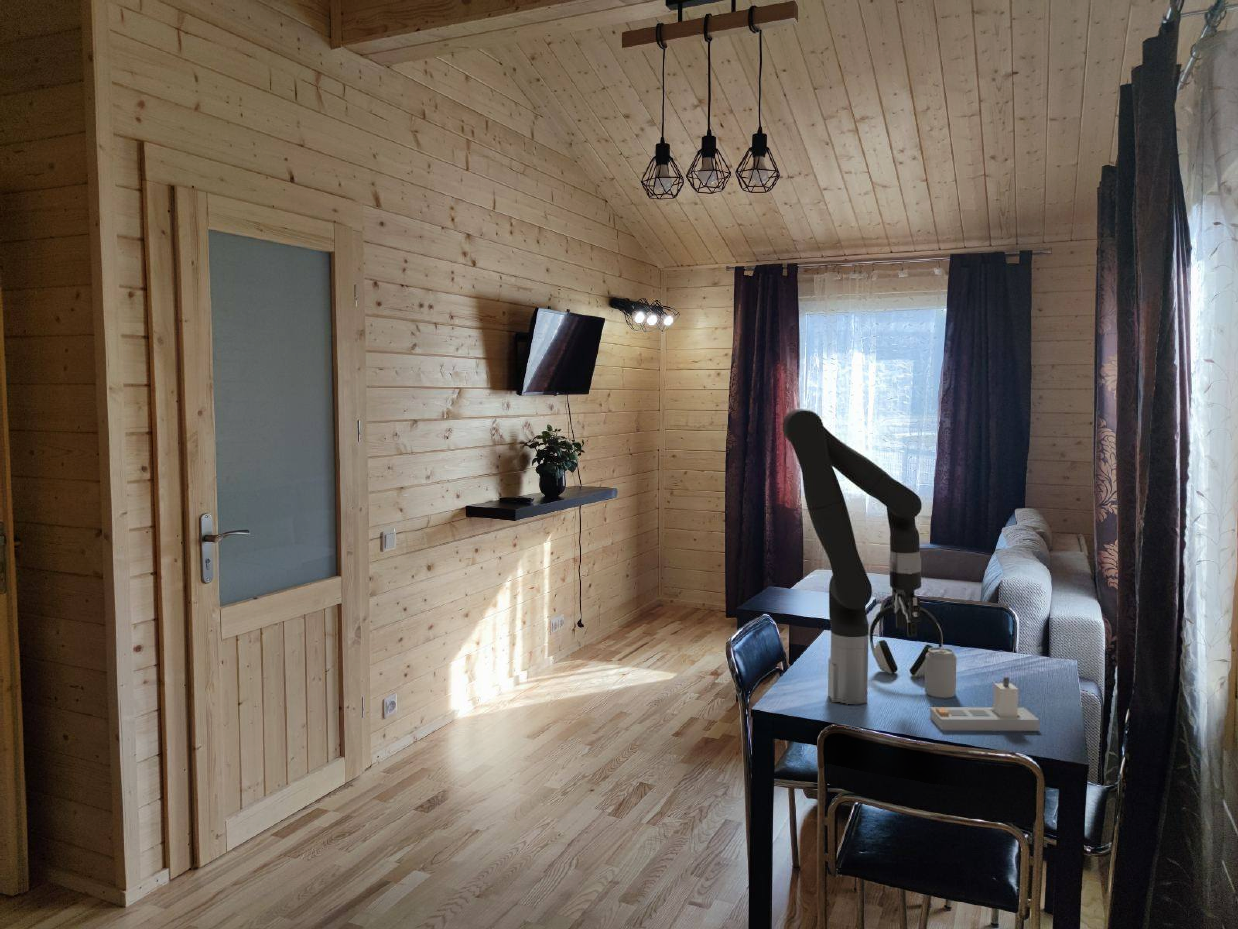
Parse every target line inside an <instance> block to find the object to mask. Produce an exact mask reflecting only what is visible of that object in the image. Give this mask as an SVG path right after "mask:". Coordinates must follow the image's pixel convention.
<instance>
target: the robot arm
mask: <svg viewBox="0 0 1238 929" xmlns="http://www.w3.org/2000/svg"><path fill="white" fill-rule="evenodd" d="M823 423H824V422H823V420H822V419H821V417H820V415H818V413H816V412H815V411H813V410H811V409H807V408H797V409H794V410H792V411H790V412H789V413H787V415H786V416H785V417H784V419H783V422H782V432H783V435H784V437H785V438H786V440H787V441H788V442H789V443H790V444H791V446H792V448H793V451H794V453H795V455H796V458H797V460H798V464H799V467H800V471H801V476H802V484H803V494H804V498H805V499H804V500H805V505H806V509H807V511H808V514H809V518H810V520H811V524H812V526H813V529H814V531H815V533H816V535H817V538H818V539H819V542H820V544H821V546H822V547H823V550H824V551H825V553H826V556H827V558H828V560H829V561H828V562H829V566H830V568H831V574H832V576H831V577H830V579H829V580H830V581H829V586H828V597H829V598H828V613H829V614H828V615H829V616H828V617H829V622H830V658H828V663H827V667H828V670H827V678H828V679H827V695H829V696H830V697H829V696H828V697H829V699H830V698H831V699H832V700H831V699H830V700H831V702H832V701H833V702H841V703H846V704H845V705H848V704H855V705H854V706H857V705H863V704H866V703H867V702H868V695H869V694H868V693H869V691H868V688H869V687H868V685H869V683H868V682H869V681H868V680H869V679H868V678H869V674H868V673H869V634H870V629H869V628H870V626H869V620H868V617H867V610H866V609H867V608H866V607H867V605H868V604H869V602H870V600H871V598H872V596H873V587H872V583H871V580H870V579H869V576H868V574H867V571H866V569H865V567H864V565H863V563H862V559H861V557H860V554H859V551H858V548H857V544H856V543H857V542H856V539H855V535H854V529H853V524H852V521H851V519H850V518H851V517H850V514H849V510H848V506H847V504H846V500H845V496H844V492H843V491H842V488H841V485H840V482H839V479H838V477H837V474H836V471H835V470H837V471H838V472H839V473H840V474H841V475H842V476H843V477H845V479H847V480H848V481H850V482H851V483H852V484H854V485H855V486H856V487H857V488H858V489H860V490H861V491H863V492H865V493H866V494H867V495H868V496H870V497H872V498H875V500H877V501H878V502H880V503H881V504H882V505H884V506H885V507H886V514H887V520H888V521H887V522H888V527H889V550H890V551H889V561H888V562H889V564H888V565H889V586H890V588H891V602H892V603H891V605H892V608H893V609H895V610H894V612H893V613H895V628H897V629H905V628H906V630H907V631H906V636H907V637H908V638H910V639H912V638H917V637H918V623H919V622H921V621H922V616H921V611H920V607H921V599H920V597H917V596H916V595H915V593H916V592H915V591H916V590H919V589H921V587H922V560H921V553H920V551H921V548H920V545H921V544H920V532H919V530H918V528H917V525H916V517H917V516H918V515H919V514H920V513H921V511H922V508H923V507H922V506H923V504H922V500H921V498H920V496H919V495H918V494H917V493H915V492H914V491H913V490H911V489H910V488H909V487H907V486H905V485H904V484H903V483H901V482H899V481H898V480H896V479H895V478H893V477H892V476H891V475H890V474H889V473H887V471H886V470H884V469H883V468H881V467H879V466H878V464H876V463H874V462H873V460H870V459H869V458H868V457H866V456H865V455H864V454H861V453H860V452H858V451H856V449H854V448H852V447H850V446H848V445H847V444H846V443H844V442H842V441H841V440H840V439H839V438H837V437H836V436H835V435H833V433H831V432H830V431H829V430H828V429H827V428H826V427H825V426H824V424H823ZM834 469H835V470H834ZM833 702H832V703H833ZM841 703H840V704H841Z"/></svg>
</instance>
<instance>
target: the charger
mask: <svg viewBox="0 0 1238 929" xmlns="http://www.w3.org/2000/svg"><path fill="white" fill-rule="evenodd" d="M1002 679H1003V680H1002V682H1003V683H1001V682H1000V683H995V682H994V683H993V698H992V700H993V701H992V707H993V713H994V714H995V715H996V716H997V717H1010V718H1017V716H1018V708H1019V707H1018V706H1019V688H1018V687H1017V686H1015V685H1013V683H1010V677H1008V676H1003V678H1002Z"/></svg>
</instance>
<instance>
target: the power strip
mask: <svg viewBox="0 0 1238 929" xmlns="http://www.w3.org/2000/svg"><path fill="white" fill-rule="evenodd" d="M929 719H930V720H931V721H932V722H933V723H934V724H935V726H936V727H937V728H938V729H939V730H940V731H986V732H987V731H991V732H992V731H994V732H995V731H997V732H998V731H1002V732H1003V731H1005V732H1007V731H1008V732H1009V731H1010V732H1011V731H1015V732H1017V731H1018V732H1019V731H1020V732H1021V731H1023V732H1024V731H1027V732H1028V731H1032V732H1033V731H1034V732H1038V731H1039V728H1040V727H1039V726H1040V719H1039V718H1037V717H1036V716H1035V715H1033V714H1032V713H1031V712H1030V711H1029V710H1027V708H1025V707H1018V716H1017V718H1010V717H997V716H996V715H995V714H994V713H993V706H992V707H991V706H989V707H985V706H984V707H983V706H981V707H978V706H977V707H975V706H973V707H971V706H967V707H966V706H965V707H964V706H962V707H961V706H959V707H957V706H954V707H953V706H951V707H950V706H949V707H947V706H946V707H945V706H944V707H943V706H941V707H939V706H938V707H937V706H933V707H931V706H930V707H929Z"/></svg>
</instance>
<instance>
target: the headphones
mask: <svg viewBox="0 0 1238 929" xmlns="http://www.w3.org/2000/svg"><path fill="white" fill-rule="evenodd" d="M894 610H895V609H893V608H892V604H891V605H888V606H886V607H885V608H882V609H880V611H878V613H876V615H875V616H874V617H875V618H873V620H872V622H871V624H870V626H869V628H870V629H869V633H868V634H869V635H868V639H869V643H870V650H871V652H872V655H873V657H874V659H875V662H876V664H877V666H878V668H879V670H881V672H885V673H889V674H890V675H893V674H894V675H895V673H897V672H898V670H899V669H898V665H897V662H896V660H895V659H894V655H893V654H892V651H891V649H890V646H889V644H888V642H887V640H885V639H881V640H878V641H877V642H876V645H875V644H874V631H875V628H876V627H877V625H878V623H879V622H880V621H881V620H882V618H884V617H885V616H888V615H890V614H892V613H895V612H894ZM920 611H921V617H923V618H924V619H926V620H927V621H928V622H929V623H930V624H931V625H932V627H934V629H935V631H936V632H935V633H936V634H937V637H938V647H943V642H944V641H943V633H942V628H941V627H940V624H939V623H938V620H937V619H936V617H935V616H934V615H933V614H932V613H930V612H929V611H928V610H927V609H926V608H924V607H921V606H920ZM932 647H934V645H931V644H928V643H927V644H925V645H924V647H923V648H922V651H921V652H920V653H919V655H918V657H917V659H916V660H915V661H914V663H913V664H912V665H911V666H910V669H909V673H910V674H911V676H913V677H914V678H918V677H925V662H926V654H927V653H928V652H929V651H928V649H929V648H932Z"/></svg>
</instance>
